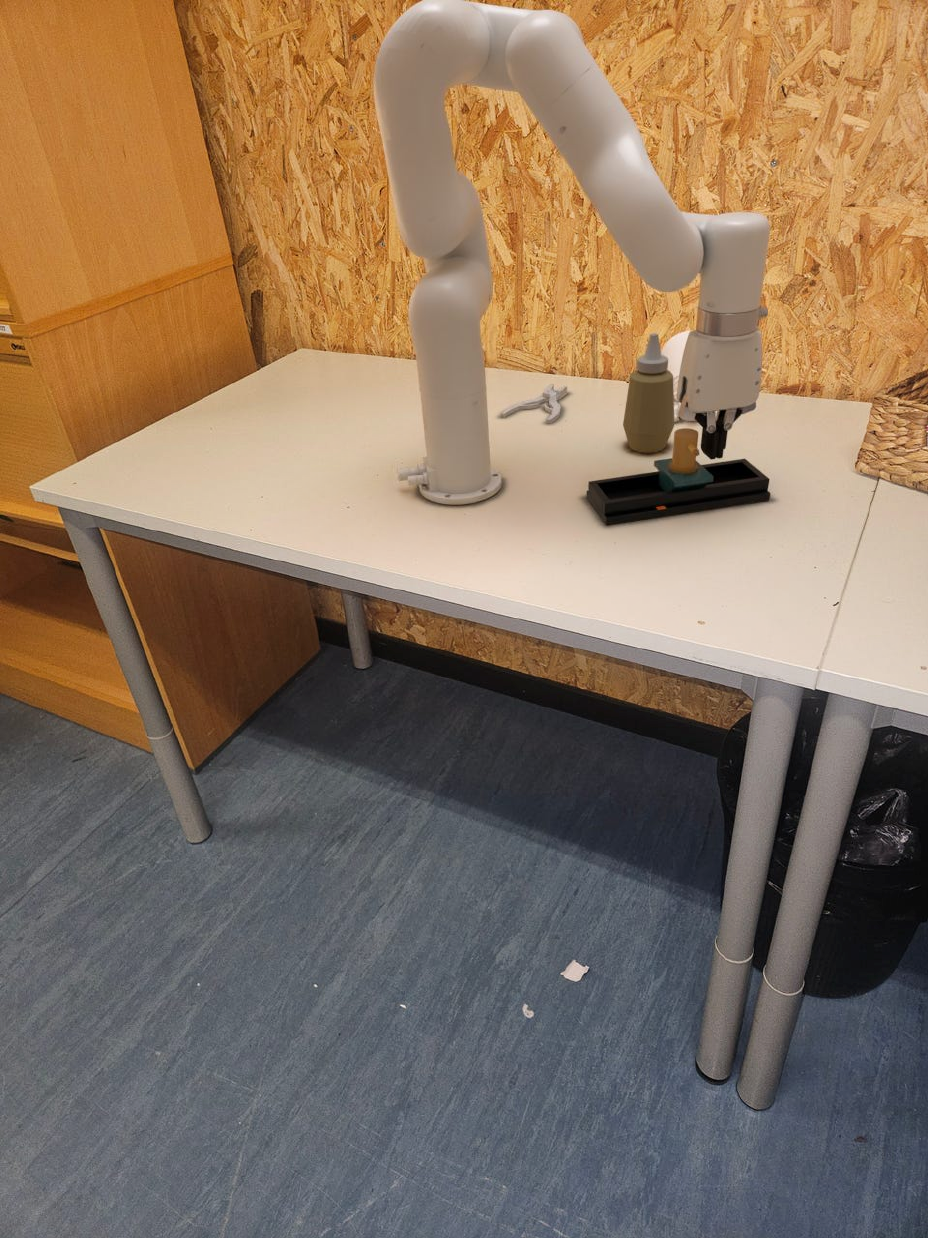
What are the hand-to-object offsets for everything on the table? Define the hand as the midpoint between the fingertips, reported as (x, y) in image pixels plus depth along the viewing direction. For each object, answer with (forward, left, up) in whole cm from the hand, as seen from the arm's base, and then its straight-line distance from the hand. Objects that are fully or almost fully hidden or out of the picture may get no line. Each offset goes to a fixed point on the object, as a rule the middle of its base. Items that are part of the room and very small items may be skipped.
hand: (712, 454), depth 115 cm
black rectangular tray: (-5, 0, -6) cm, 8 cm away
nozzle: (-4, 0, -5) cm, 6 cm away
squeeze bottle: (-2, +19, -6) cm, 20 cm away
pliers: (-13, +43, -6) cm, 45 cm away
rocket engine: (+10, +35, -6) cm, 37 cm away
